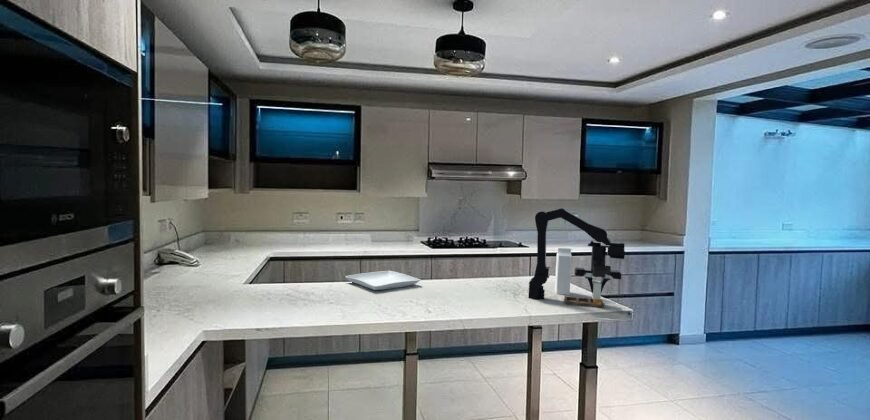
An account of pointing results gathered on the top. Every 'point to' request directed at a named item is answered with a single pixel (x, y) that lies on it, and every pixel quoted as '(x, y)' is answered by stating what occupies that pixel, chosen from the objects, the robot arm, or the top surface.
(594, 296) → the block
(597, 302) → the rack
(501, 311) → the top surface
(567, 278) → the milk
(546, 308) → the top surface
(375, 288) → the square plate
